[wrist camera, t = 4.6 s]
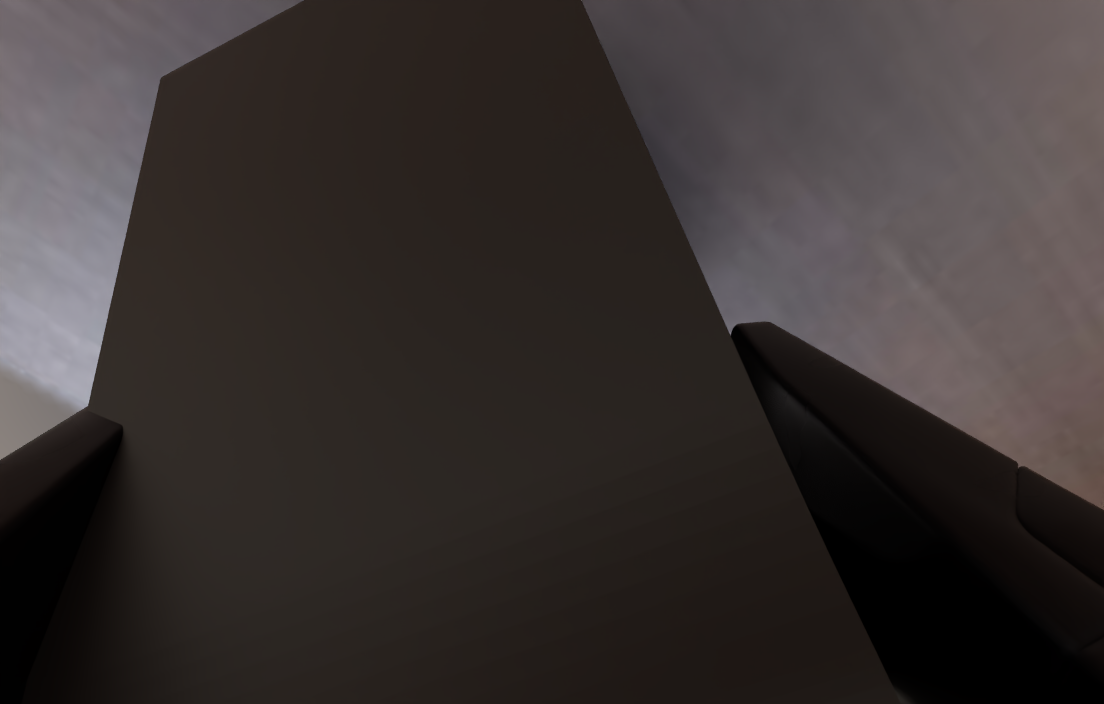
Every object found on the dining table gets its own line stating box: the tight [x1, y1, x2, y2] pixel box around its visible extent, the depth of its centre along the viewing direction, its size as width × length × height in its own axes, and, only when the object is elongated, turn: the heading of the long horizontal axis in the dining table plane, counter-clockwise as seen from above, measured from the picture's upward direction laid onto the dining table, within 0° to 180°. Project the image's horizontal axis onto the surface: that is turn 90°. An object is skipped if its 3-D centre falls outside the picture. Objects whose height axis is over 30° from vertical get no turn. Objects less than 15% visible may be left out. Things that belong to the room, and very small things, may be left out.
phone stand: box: [21, 0, 901, 704], centre depth 8 cm, size 9×6×12 cm, turn 24°
